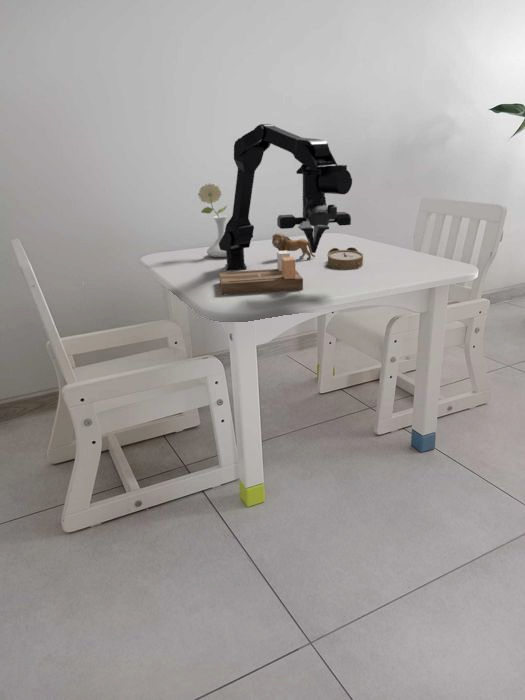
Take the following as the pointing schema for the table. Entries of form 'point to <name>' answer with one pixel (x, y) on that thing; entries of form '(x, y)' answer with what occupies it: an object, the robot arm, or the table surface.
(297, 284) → the board
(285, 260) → the terracotta fader
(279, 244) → the lion figurine
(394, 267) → the table surface
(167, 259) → the table surface
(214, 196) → the flower in vase
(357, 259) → the alarm clock
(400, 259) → the table surface
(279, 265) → the block
